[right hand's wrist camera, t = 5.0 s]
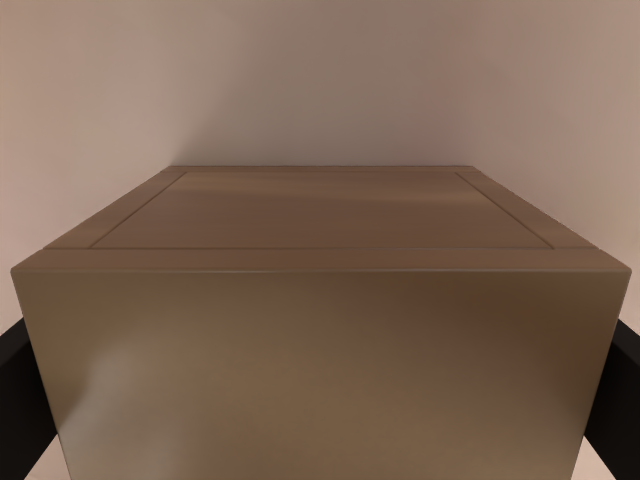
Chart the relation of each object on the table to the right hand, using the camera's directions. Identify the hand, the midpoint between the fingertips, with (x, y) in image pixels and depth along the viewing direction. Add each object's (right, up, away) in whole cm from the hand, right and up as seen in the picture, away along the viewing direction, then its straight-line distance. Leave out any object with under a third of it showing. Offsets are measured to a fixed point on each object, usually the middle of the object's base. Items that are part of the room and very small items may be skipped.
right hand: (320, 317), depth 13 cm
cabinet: (0, -3, +7) cm, 7 cm away
